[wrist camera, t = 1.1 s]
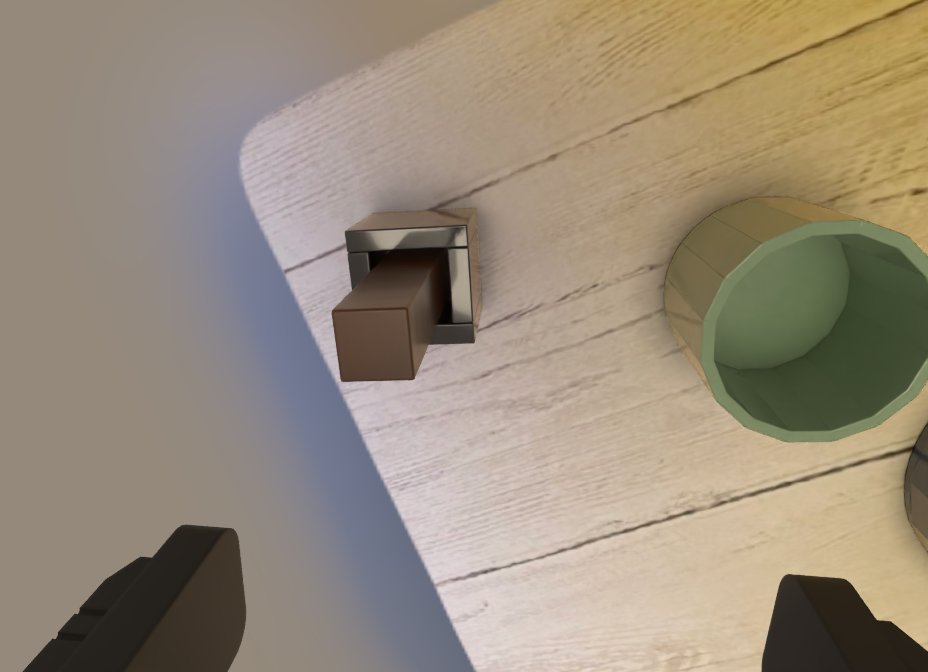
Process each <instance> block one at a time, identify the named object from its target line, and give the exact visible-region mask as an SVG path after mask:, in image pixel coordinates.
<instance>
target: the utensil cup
mask: <svg viewBox="0 0 928 672" xmlns="http://www.w3.org/2000/svg"><path fill="white" fill-rule="evenodd" d="M664 307H665V313H666V317H667V320H668V323H669V326H670V328H671V330H672V332H673V334H674V336H675V338H676V341H677V343H678V345H679V346H680V348H681V349H682V351H683V352H684V354H685V355H686V357H687V358H688V360H689V361H690V363H691V364H692V366H693V367H694V369H695V370H696V372H697V373H698V375H699V376H700V378H701V379H702V381H703V382H704V384H705V385H706V387H707V388H708V390H709V391H710V393H711V394H712V396H713V397H714V399H715V400H716V401H717V402H718V403H719V404H720V405H721V406H722V407H723V408H724V409H725V410H726V411H728V412H729V413H730V414H731V415H732V416H733V417H734V418H735V419H736V420H737V421H738V422H740V423H741V424H742V425H743V426H744V427H746V428H747V429H750V430H753V431H756V432H759V433H761V434H764V435H767V436H770V437H773V438H776V439H778V440H781V441H784V442H832V441H836V440H839V439H842V438H845V437H848V436H851V435H853V434H856V433H859V432H862V431H865V430H868V429H871V428H874V427H876V426H878V425H880V424H881V423H883V422H884V421H885V420H887V419H888V418H889V417H891V416H892V415H893V414H895V413H896V412H897V411H898V410H900V409H901V408H902V407H904V406H905V405H906V404H908V403H909V402H910V401H912V400H913V399H914V398H916V396H917V395H918V394H919V393H920V391H921V390H922V388H923V387H924V385H925V383H926V382H927V380H928V256H927V255H926V254H925V253H924V252H923V251H922V250H921V249H920V248H919V247H918V246H917V245H916V244H915V243H914V242H913V241H912V240H911V239H910V237H907V235H904V234H901V233H898V232H896V231H893V230H890V229H887V228H885V227H882V226H879V225H876V224H874V223H871V222H868V221H865V220H863V219H859V218H856V217H853V216H850V215H846V214H843V213H840V212H837V211H833V210H830V209H827V208H824V207H821V206H817V205H814V204H811V203H808V202H804V201H801V200H798V199H795V198H792V197H759V198H751V199H747V200H743V201H739V202H736V203H734V204H731V205H728V206H726V207H724V208H722V209H720V210H718V211H716V212H715V213H713V214H712V215H710V216H709V217H707V218H706V219H704V220H703V221H702V222H701V223H700V224H698V225H697V226H696V227H695V228H694V229H693V230H692V231H691V232H690V233H689V234H688V235H687V237H686V238H685V239H684V240H683V242H682V243H681V245H680V246H679V247H678V249H677V251H676V253H675V255H674V256H673V258H672V261H671V263H670V266H669V268H668V271H667V275H666V279H665V285H664Z"/></svg>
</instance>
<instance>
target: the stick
mask: <svg viewBox="0 0 928 672" xmlns="http://www.w3.org/2000/svg"><path fill="white" fill-rule="evenodd" d="M449 294H450V285H449V272H448V258H447V248H433V249H412V250H391V251H390V252H389V253H388V254H387V255H386V256H385V257H384V258H383V259H382V260H381V261H380V262H379V263H378V264H377V265H376V266H375V267H374V268H373V269H372V270H371V271H370V272H369V273H368V274H367V276H366V277H365V278H364V279H363V280H362V281H361V282H360V283H359V284H358V285H357V286H356V287H355V288H354V289H353V290H352V291H351V292H350V293H349V294H348V295H347V296H346V297H345V298H344V299H343V300H342V301H341V302H340V303H339V304H338V305H337V306H336V307H335V308H334V309H333V310H332V319H333V326H334V334H335V341H336V348H337V356H338V363H339V370H340V378H341V381H343V382H353V381H392V380H413V379H415V376H416V374H417V372H418V369H419V367H420V364H421V362H422V360H423V357H424V355H425V352H426V350H427V347H428V345H429V343H430V340H431V338H432V335H433V333H434V331H435V328H436V326H437V323H438V321H439V319H440V316H441V314H442V311H443V309H444V307H445V304H446V302H447V299H448V297H449Z"/></svg>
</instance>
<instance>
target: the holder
mask: <svg viewBox="0 0 928 672" xmlns="http://www.w3.org/2000/svg"><path fill="white" fill-rule="evenodd" d="M345 237H346V245H347V251H348V252H349V253H348V261H349V269H350V277H351V285H352V290H353V289H354V288H355V287H356V286H357V285H358V284H359V283H360V282H361V281H362V280H363V279H364V278H365V277H366V276H367V274H368V273H369V272H370V271H371V270H372V269H373V268H374V267H375V266H376V265H377V264H378V263H379V262H380V261H381V260H382V259H383V258H384V257H385V256H386V255H387V254H388V253H389V252H390V251H391V250H412V249H433V248H447V258H448V272H449V285H450V294H449V297H448V299H447V302H446V304H445V307H444V309H443V311H442V314H441V316H440V319H439V321H438V323H437V326H436V328H435V331H434V333H433V335H432V338H431V340H430V343H429V345H433V344H465V343H475V339H476V334H477V330H478V325H479V320H480V316H481V311H482V299H481V283H480V265H479V248H478V231H477V213H476V208H460V209H441V210H422V211H404V212H385V213H372V214H371V215H369V216H368V217H366V218H365V219H363V220H362V221H360V222H358V223H357V224H355V225H354V226H352V227H351V228H349V229H348V230H346V231H345Z"/></svg>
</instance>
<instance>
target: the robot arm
mask: <svg viewBox="0 0 928 672" xmlns="http://www.w3.org/2000/svg"><path fill="white" fill-rule="evenodd" d="M241 567H242V566H241V557H240V549H239V540H238V536H237V533H236V531H235V530H234V529H232V528H220V527H208V526H195V525H182V526H180V527H179V528H177V529H176V530H175V531H174V533H173V534H172V535H171V536H170V538H169V539H168V540H167V541H166V542H165V544H164V545H163V546H162V547H161V548H160V549H159V550H158V552H157V553H156V554H155V555H154V556H153V558H149V557H140V558H138V559H136V560H135V561H133V562H132V563H130V564H129V565H127V566H126V567H124V568H122V569H121V570H119V571H118V572H117V573H115V574H113V575H112V576H110V577H109V578H107V579H106V580H105V581H104V582H103V583H102V584H101V585H100V586H99V587H98V588H97V590H96V591H95V592H94V593H93V594H92V595H91V596H90V597H89V599H88V600H87V601H86V602H85V603H84V604H83V605H82V606H81V607H80V611H79V613H78V614H74V615H73V616H72V617H71V618H70V620H69V621H68V622H67V623H66V624H65V625H64V626H63V627H62V628H61V630H60V631H59V632H58V636H57V638H56V639H52V640H51V641H50V642H49V643H48V644H47V645H46V646H45V647H44V648H43V650H42V651H41V652H40V653H39V654H38V655H37V656H36V657H35V658H34V660H33V661H32V662H31V663H30V664H29V665H28V666H27V667H26V669H25V670H24V671H23V672H227V671H228V669H229V668H230V666H231V664H232V662H233V660H234V658H235V656H236V654H237V652H238V650H239V647H240V644H241V641H242V637H243V633H244V629H245V622H246V604H245V595H244V585H243V577H242V568H241ZM762 672H928V651H927V650H925V649H924V648H923V647H922V646H920V645H919V644H918V643H917V642H915V641H914V640H913V639H912V638H911V637H909V636H908V635H907V634H906V633H904V632H903V631H902V630H901V629H900V628H898V627H897V626H896V625H895V624H893V623H892V622H891V621H879V620H876V618H875V617H874V616H873V614H872V613H871V611H870V610H869V608H868V607H867V606H866V604H865V603H864V601H863V600H862V598H861V597H860V596H859V594H858V593H857V591H856V590H855V588H854V587H853V586H852V585H851V583H849V582H848V581H847V580H845V579H841V578H830V577H817V576H804V575H792V574H788V575H785V576H784V577H783V578H782V580H781V582H780V585H779V588H778V593H777V597H776V601H775V606H774V610H773V614H772V619H771V623H770V627H769V631H768V636H767V640H766V644H765V649H764V653H763V658H762Z"/></svg>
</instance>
